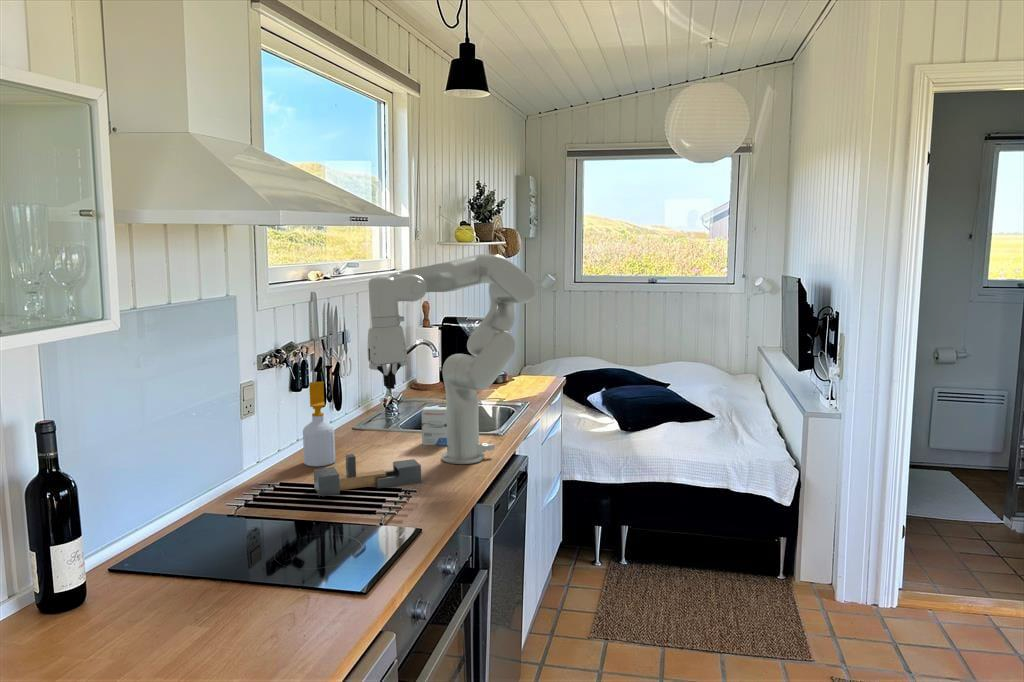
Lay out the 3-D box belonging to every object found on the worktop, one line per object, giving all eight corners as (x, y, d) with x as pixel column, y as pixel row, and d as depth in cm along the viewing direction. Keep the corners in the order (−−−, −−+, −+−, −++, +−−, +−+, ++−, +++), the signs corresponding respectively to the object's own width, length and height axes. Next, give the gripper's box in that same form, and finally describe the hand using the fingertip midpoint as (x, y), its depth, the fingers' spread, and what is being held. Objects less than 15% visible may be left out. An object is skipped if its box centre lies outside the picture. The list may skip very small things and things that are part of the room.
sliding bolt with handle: (383, 480, 212) (382, 450, 211) (386, 484, 209) (385, 453, 208) (323, 488, 206) (322, 457, 204) (326, 492, 203) (324, 460, 201)
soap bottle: (304, 468, 225) (300, 384, 222) (304, 459, 234) (300, 379, 230) (336, 465, 227) (332, 382, 224) (334, 457, 236) (331, 377, 233)
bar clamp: (414, 475, 217) (413, 457, 217) (421, 482, 210) (421, 464, 210) (314, 488, 207) (313, 469, 206) (319, 496, 200) (318, 477, 199)
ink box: (451, 441, 253) (450, 406, 251) (448, 446, 248) (447, 409, 246) (425, 441, 253) (424, 405, 252) (421, 445, 249) (421, 409, 247)
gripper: (407, 318, 218) (411, 382, 221) (354, 323, 212) (360, 389, 215) (415, 321, 211) (420, 387, 214) (361, 326, 205) (367, 394, 208)
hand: (390, 388), depth 215 cm, fingers closed
